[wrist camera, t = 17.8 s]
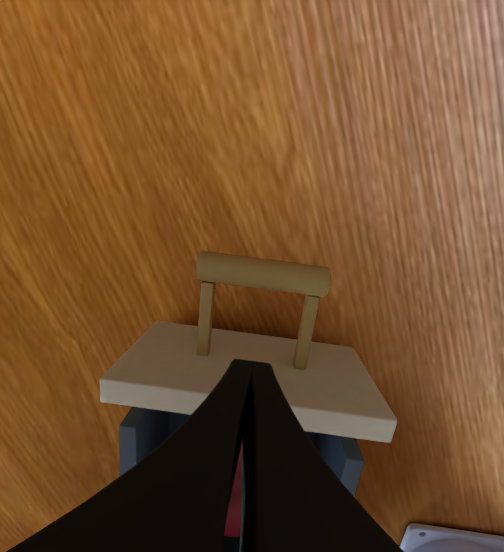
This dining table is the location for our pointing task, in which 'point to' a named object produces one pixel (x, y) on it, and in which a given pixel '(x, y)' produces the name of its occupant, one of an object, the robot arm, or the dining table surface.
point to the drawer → (238, 345)
